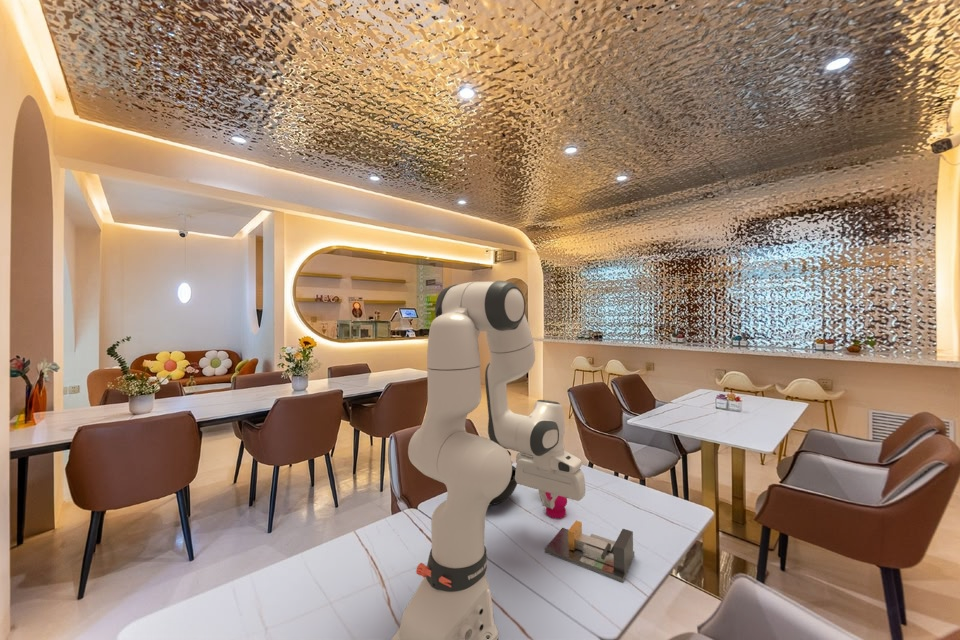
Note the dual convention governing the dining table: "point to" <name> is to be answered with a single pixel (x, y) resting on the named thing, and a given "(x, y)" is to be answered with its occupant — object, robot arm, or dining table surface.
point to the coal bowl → (508, 490)
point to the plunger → (586, 540)
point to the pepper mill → (557, 507)
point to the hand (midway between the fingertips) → (548, 506)
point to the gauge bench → (596, 554)
